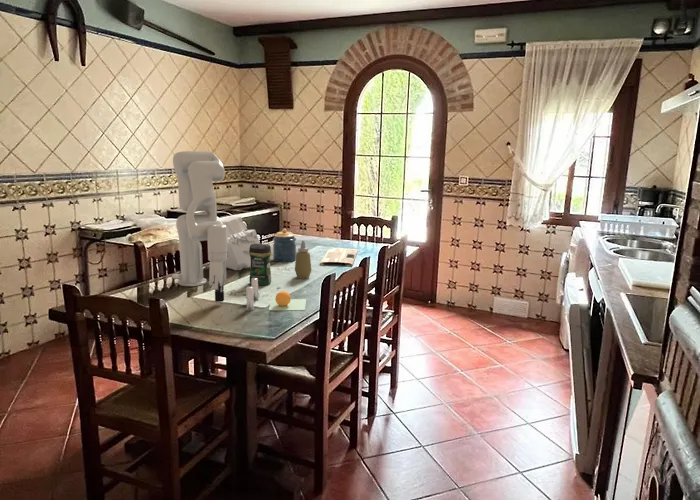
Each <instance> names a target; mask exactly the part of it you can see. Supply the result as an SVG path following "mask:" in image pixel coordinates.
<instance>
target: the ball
mask: <svg viewBox="0 0 700 500" xmlns="http://www.w3.org/2000/svg"><path fill="white" fill-rule="evenodd" d="M274 299H275V300H276V303H277V304H278V305H280V306H286V305H288V304H289V303H290V300H291V299H292V298H291V294H290V293H289V292H287V291H285V290H281V291H279V292H277V294H276V295H275V298H274Z"/></svg>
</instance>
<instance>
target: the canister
mask: <svg viewBox="0 0 700 500" xmlns="http://www.w3.org/2000/svg"><path fill="white" fill-rule="evenodd" d="M273 235H274V237H273V238H272V241H273V244H272V246H273V247H272V248H273V251H272V254H273V255H272V258H273V261H275V262H279V263H288V262H294V261H295V262H296V253H297V243H296V240H297V238H296V237H295V236H296V234H295V233H293V232H292V231H288V230H287V229H286V228H283V229H282V230H281V231H278V232H276V233H275V234H273Z"/></svg>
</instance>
